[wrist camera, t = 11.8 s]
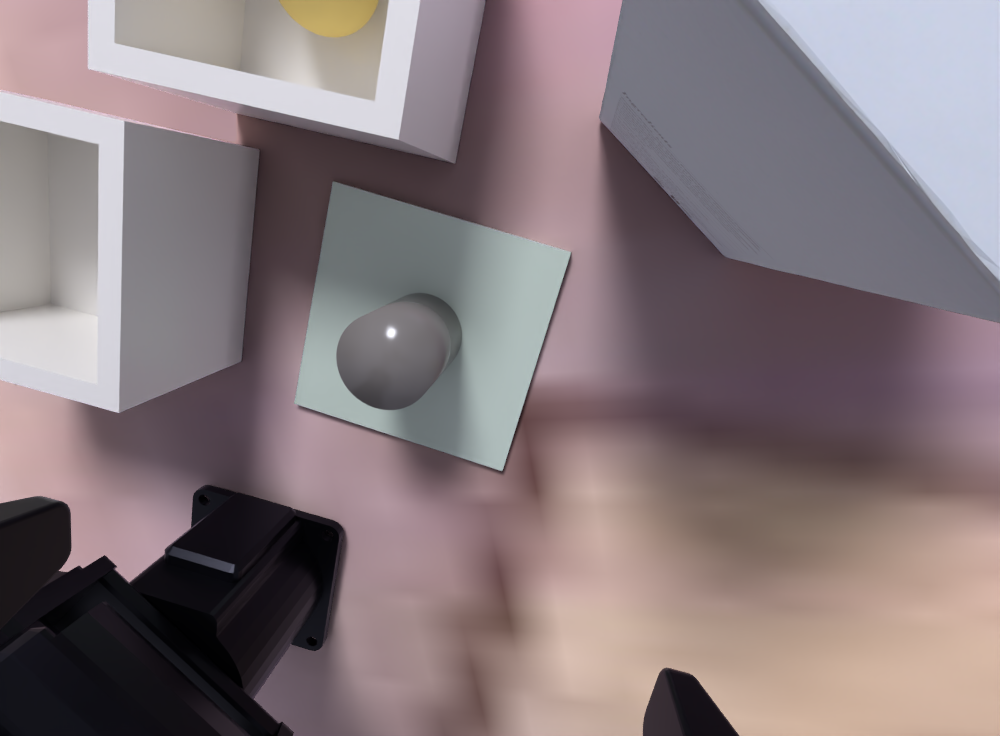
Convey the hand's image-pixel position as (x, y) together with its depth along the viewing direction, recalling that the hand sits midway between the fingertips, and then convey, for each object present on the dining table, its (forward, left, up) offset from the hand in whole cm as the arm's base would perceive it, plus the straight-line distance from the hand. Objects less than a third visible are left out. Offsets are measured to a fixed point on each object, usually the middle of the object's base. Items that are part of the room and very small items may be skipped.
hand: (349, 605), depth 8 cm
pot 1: (+2, +14, -13) cm, 19 cm away
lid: (+1, +3, -14) cm, 14 cm away
